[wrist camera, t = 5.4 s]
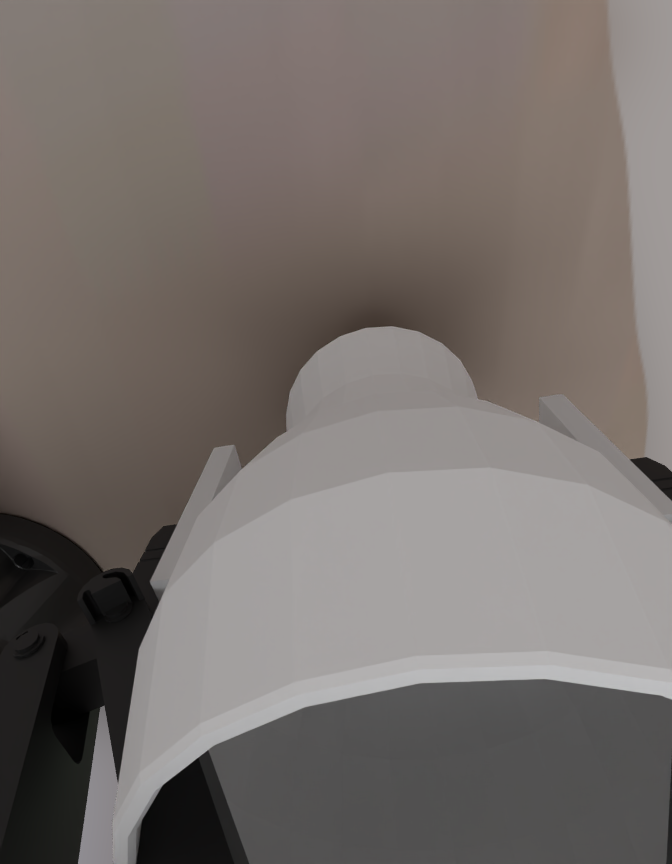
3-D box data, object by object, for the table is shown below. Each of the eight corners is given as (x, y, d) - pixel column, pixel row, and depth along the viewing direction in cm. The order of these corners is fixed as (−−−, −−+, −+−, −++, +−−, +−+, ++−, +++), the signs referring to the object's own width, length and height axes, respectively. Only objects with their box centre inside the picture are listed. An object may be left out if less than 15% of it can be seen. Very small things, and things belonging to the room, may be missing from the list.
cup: (507, 258, 17) (1090, 536, 4) (516, 503, 22) (790, 1008, 9) (217, 316, 18) (-124, 695, 5) (286, 538, 23) (210, 1036, 10)
